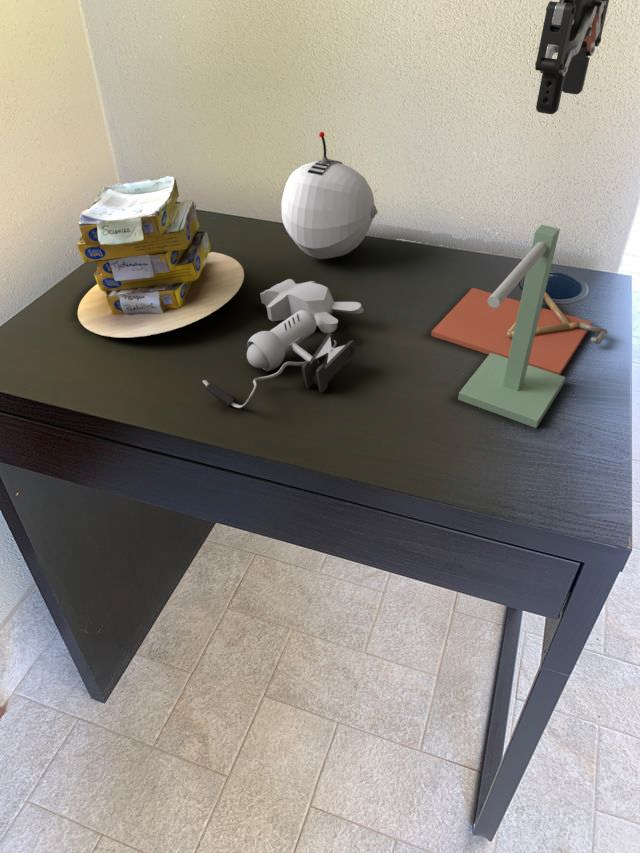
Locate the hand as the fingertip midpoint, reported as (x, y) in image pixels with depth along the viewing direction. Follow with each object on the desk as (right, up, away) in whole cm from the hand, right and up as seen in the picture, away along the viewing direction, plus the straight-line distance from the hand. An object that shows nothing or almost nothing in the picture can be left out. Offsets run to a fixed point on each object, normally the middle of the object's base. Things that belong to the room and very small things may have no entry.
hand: (559, 102), depth 76 cm
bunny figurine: (-28, -21, +23) cm, 42 cm away
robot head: (-25, -7, +38) cm, 46 cm away
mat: (0, -23, +20) cm, 30 cm away
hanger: (+2, -20, +21) cm, 29 cm away
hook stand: (-5, -34, +7) cm, 35 cm away
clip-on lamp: (-32, -30, +12) cm, 45 cm away
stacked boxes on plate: (-50, -17, +27) cm, 59 cm away
